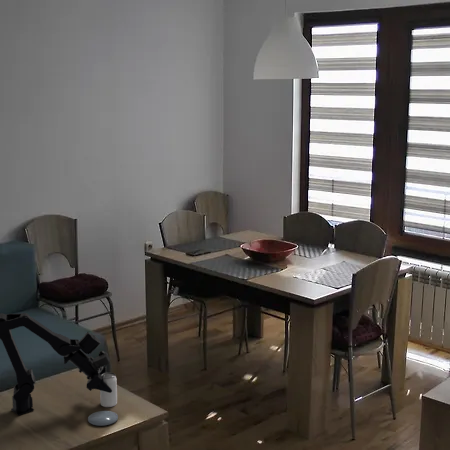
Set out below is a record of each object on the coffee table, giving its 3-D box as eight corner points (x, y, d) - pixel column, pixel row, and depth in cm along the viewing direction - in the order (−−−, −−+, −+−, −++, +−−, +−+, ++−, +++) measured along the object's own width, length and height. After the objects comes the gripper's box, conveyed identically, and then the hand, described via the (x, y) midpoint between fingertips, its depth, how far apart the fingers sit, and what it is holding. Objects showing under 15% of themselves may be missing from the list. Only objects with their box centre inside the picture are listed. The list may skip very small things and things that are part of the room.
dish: (98, 429, 252) (98, 427, 252) (82, 419, 260) (82, 416, 260) (123, 420, 259) (123, 418, 259) (107, 410, 267) (107, 408, 267)
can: (113, 408, 269) (113, 379, 267) (98, 406, 270) (97, 377, 268) (119, 401, 275) (118, 372, 273) (104, 399, 276) (103, 371, 274)
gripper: (94, 356, 259) (124, 384, 262) (99, 339, 277) (128, 364, 280) (73, 377, 260) (104, 404, 263) (80, 358, 278) (108, 383, 281)
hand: (112, 388), depth 272 cm, fingers closed on can, 6 cm apart
